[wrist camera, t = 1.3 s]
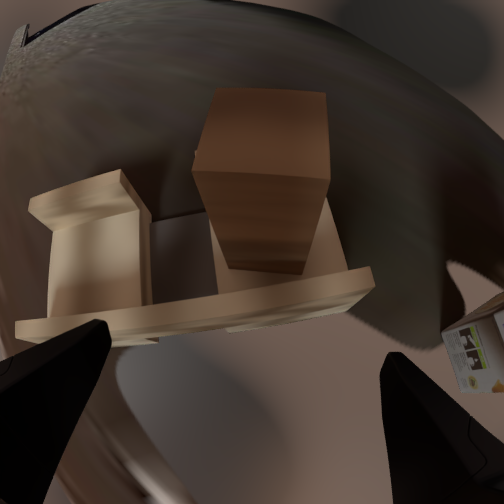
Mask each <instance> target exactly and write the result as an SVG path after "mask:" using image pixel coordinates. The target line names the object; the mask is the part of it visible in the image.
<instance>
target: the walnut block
mask: <svg viewBox="0 0 504 504" xmlns="http://www.w3.org/2000/svg"><path fill="white" fill-rule="evenodd" d="M191 171H192V174H193V177H194V179H195V182H196V185H197V188H198V190H199V193H200V196H201V198H202V201H203V204H204V206H205V209H206V212H207V214H208V217H209V219H210V222H211V225H212V227H213V230H214V233H215V235H216V238H217V240H218V243H219V246H220V248H221V251H222V253H223V256H224V258H225V261H226V263H227V266H228V269H235V270H246V271H257V272H269V273H280V274H292V275H302V274H303V270H304V267H305V264H306V261H307V258H308V255H309V251H310V248H311V245H312V242H313V238H314V235H315V232H316V228H317V225H318V222H319V218H320V215H321V212H322V208H323V205H324V201H325V198H326V194H327V191H328V187H329V183H330V180H331V177H330V152H329V133H328V118H327V104H326V93H321V92H311V91H300V90H286V89H267V88H216V90H215V93H214V97H213V100H212V103H211V106H210V109H209V112H208V115H207V119H206V122H205V125H204V128H203V132H202V135H201V138H200V142H199V145H198V149H197V152H196V156H195V159H194V163H193V167H192V170H191Z"/></svg>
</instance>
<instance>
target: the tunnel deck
mask: <svg viewBox="0 0 504 504" xmlns="http://www.w3.org/2000/svg"><path fill="white" fill-rule="evenodd" d="M196 152H197V151H195V156H196ZM28 211H29V212H30V213H31V214H32V215H34V216H35V217H36V218H37V219H38V220H40V221H41V222H42V223H43V224H44V225H46V226H47V227H48V228H49V229H51V230H52V231H53V238H52V247H51V257H50V268H49V283H48V316H47V318H43V319H34V320H23V321H15V338H18V339H21V340H25V341H30V342H34V343H38V344H40V343H42V342H44V341H47V340H49V339H51V338H53V337H55V336H58V335H60V334H62V333H64V332H66V331H69V330H71V329H73V328H75V327H78V326H80V325H82V324H84V323H86V322H89V321H91V320H93V319H101V320H105V321H106V322H107V324H108V327H109V331H110V335H111V338H112V346H111V347H122V346H134V345H144V344H153V343H159V339H158V337H162V336H169V335H178V334H186V333H194V332H201V331H207V330H215V329H221V328H224V329H225V330H226V331H227V332H228V333H236V332H242V331H248V330H254V329H260V328H265V327H271V326H276V325H282V324H287V323H292V322H297V321H302V320H307V319H312V318H317V317H322V316H326V315H331V314H335V313H340V312H344V311H347V310H348V309H349V308H351V307H352V306H353V305H354V304H355V303H357V302H358V301H359V300H360V299H361V298H363V297H364V296H365V295H366V294H367V293H368V292H370V291H371V290H372V289H373V288H374V287H375V283H374V279H373V275H372V272H371V269H370V266H368V267H363V268H359V269H354V270H349V271H348V267H347V264H346V260H345V257H344V253H343V250H342V246H341V243H340V239H339V236H338V233H337V229H336V226H335V223H334V220H333V216H332V213H331V210H330V207H329V204H328V201H327V198H325V201H324V205H323V208H322V212H321V215H320V218H319V222H318V225H317V228H316V232H315V235H314V238H313V242H312V245H311V248H310V251H309V255H308V258H307V261H306V264H305V267H304V270H303V274H302V275H292V274H280V273H269V272H257V271H246V270H235V269H228V266H227V263H226V261H225V258H224V256H223V253H222V251H221V248H220V246H219V243H218V240H217V238H216V235H215V233H214V230H213V227H212V225H211V222H210V219H209V217H208V214H207V212H203V213H197V214H192V215H187V216H182V217H177V218H172V219H167V220H162V221H157V222H153V223H152V215H151V213H150V212H149V210H148V209H147V207H146V206H145V204H144V203H143V202H142V200H141V199H140V197H139V196H138V194H137V193H136V191H135V190H134V188H133V187H132V185H131V184H130V182H129V181H128V179H127V178H126V176H125V175H124V173H123V172H122V170H121V169H119V170H115V171H112V172H108V173H105V174H101V175H98V176H95V177H91V178H88V179H85V180H82V181H79V182H76V183H73V184H70V185H67V186H64V187H61V188H58V189H55V190H52V191H49V192H47V193H44V194H41V195H38V196H36V197H33V198H31V199H30V203H29V208H28Z"/></svg>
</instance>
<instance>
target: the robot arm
mask: <svg viewBox="0 0 504 504" xmlns="http://www.w3.org/2000/svg"><path fill="white" fill-rule="evenodd" d="M111 346H112V338H111V335H110V331H109V327H108V324H107V322H106V321H105V320H101V319H93V320H91V321H89V322H86V323H84V324H82V325H80V326H78V327H75V328H73V329H71V330H69V331H66V332H64V333H62V334H60V335H58V336H55V337H53V338H51V339H49V340H47V341H44V342H42V343H40V344H38V345H36V346H33V347H31V348H29V349H27V350H25V351H23V352H20V353H18V354H16V355H14V356H11V357H9V358H7V359H5V360H3V361H1V362H0V504H43V502H44V499H45V497H46V494H47V491H48V489H49V486H50V484H51V481H52V479H53V476H54V474H55V471H56V469H57V467H58V464H59V462H60V460H61V457H62V455H63V453H64V450H65V448H66V446H67V444H68V442H69V439H70V437H71V435H72V433H73V431H74V429H75V426H76V424H77V422H78V420H79V418H80V416H81V414H82V412H83V410H84V408H85V406H86V404H87V402H88V400H89V398H90V396H91V394H92V392H93V390H94V388H95V386H96V383H97V381H98V379H99V377H100V374H101V371H102V369H103V366H104V364H105V361H106V359H107V356H108V353H109V351H110V349H111ZM380 390H381V405H382V420H383V427H384V433H385V440H386V446H387V453H388V461H389V469H390V477H391V486H392V495H393V504H504V444H503V443H502V442H501V441H500V440H499V439H497V438H496V437H495V436H493V435H492V434H491V433H490V432H489V431H488V430H486V429H485V428H484V427H483V426H482V425H481V424H480V423H479V422H477V421H476V420H475V419H474V418H473V417H472V416H470V414H469V413H468V412H467V411H466V410H464V409H463V408H462V407H461V406H460V405H459V404H458V403H457V402H456V401H454V399H453V398H451V397H450V396H449V395H448V394H447V393H446V392H445V391H444V390H443V389H442V388H440V387H439V386H438V385H437V384H436V383H435V382H434V381H433V380H432V379H431V378H429V377H428V376H427V375H426V374H425V373H424V372H423V371H421V370H420V369H419V368H418V367H417V366H416V365H415V364H414V363H413V362H412V361H411V360H409V359H408V358H407V357H406V356H405V355H404V354H403V353H401V352H389V353H388V354H387V356H386V358H385V361H384V363H383V366H382V368H381V371H380Z"/></svg>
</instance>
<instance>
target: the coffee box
mask: <svg viewBox="0 0 504 504" xmlns="http://www.w3.org/2000/svg"><path fill="white" fill-rule="evenodd" d="M441 335H442V338H443V341H444V343H445V346H446V349H447V352H448V354H449V357H450V360H451V363H452V366H453V369H454V372H455V375H456V378H457V381H458V385H459V388H460V391H461V392H462V393H495V392H504V292H502V293H500V294H498V295H496V296H495V297H493V298H492V299H490V300H489V301H488V302H486V303H485V304H483V305H482V306H480V307H479V308H477V309H476V310H474V311H473V312H471V313H470V314H468V315H467V316H465V317H464V318H462V319H461V320H459V321H457V322H456V323H454V324H453V325H451V326H449V327H448V328H446V329H444V330H443V331H442V332H441Z"/></svg>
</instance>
